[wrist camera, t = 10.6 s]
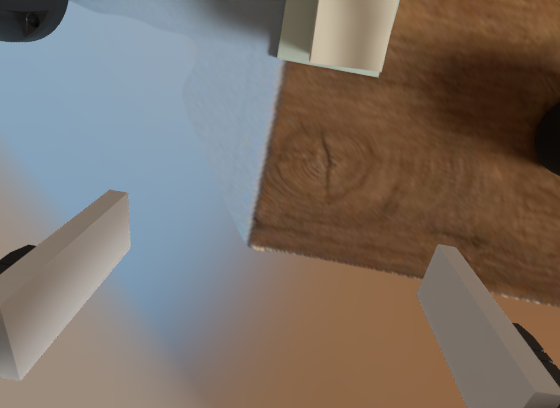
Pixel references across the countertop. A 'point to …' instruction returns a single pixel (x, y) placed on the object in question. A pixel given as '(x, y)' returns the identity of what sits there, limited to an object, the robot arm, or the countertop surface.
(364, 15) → the lintel
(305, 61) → the board
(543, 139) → the coffee jar
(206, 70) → the countertop surface
